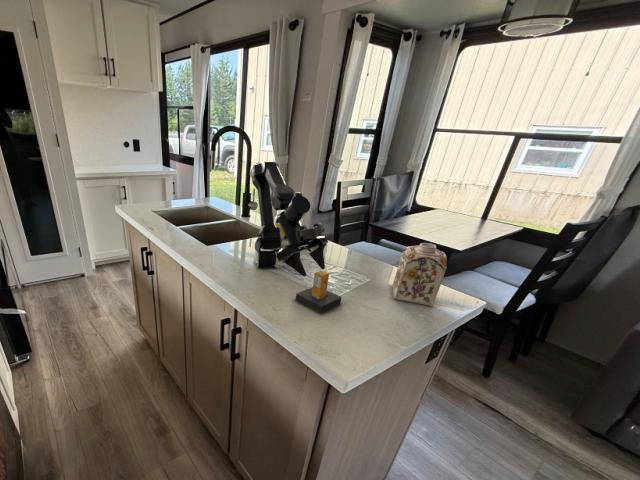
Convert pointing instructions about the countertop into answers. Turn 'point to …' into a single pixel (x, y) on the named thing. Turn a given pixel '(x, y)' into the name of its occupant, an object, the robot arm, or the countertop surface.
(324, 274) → the supplement box
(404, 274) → the decorative jar
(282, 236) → the supplement tub
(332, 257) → the countertop surface
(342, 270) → the countertop surface
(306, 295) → the socket pad
